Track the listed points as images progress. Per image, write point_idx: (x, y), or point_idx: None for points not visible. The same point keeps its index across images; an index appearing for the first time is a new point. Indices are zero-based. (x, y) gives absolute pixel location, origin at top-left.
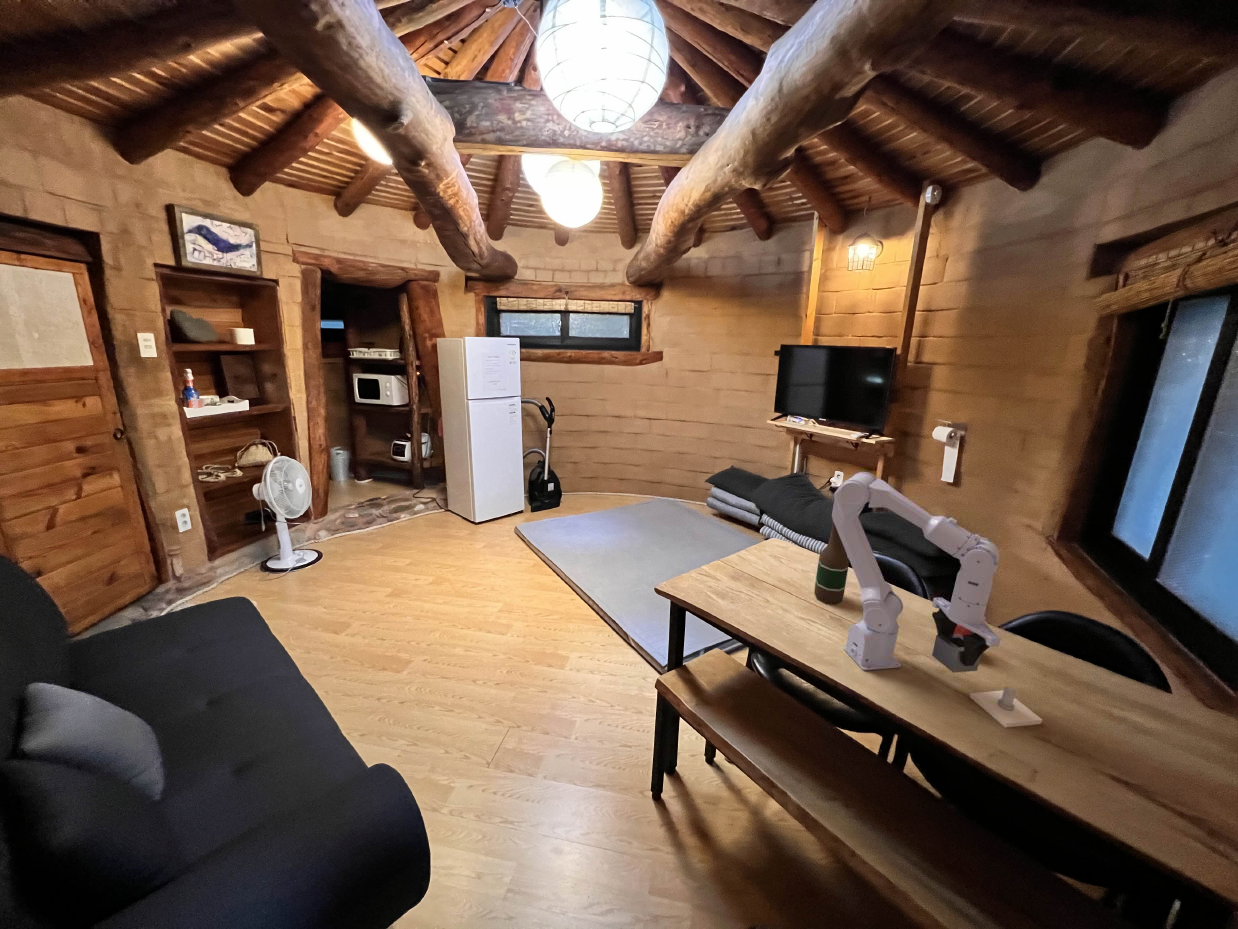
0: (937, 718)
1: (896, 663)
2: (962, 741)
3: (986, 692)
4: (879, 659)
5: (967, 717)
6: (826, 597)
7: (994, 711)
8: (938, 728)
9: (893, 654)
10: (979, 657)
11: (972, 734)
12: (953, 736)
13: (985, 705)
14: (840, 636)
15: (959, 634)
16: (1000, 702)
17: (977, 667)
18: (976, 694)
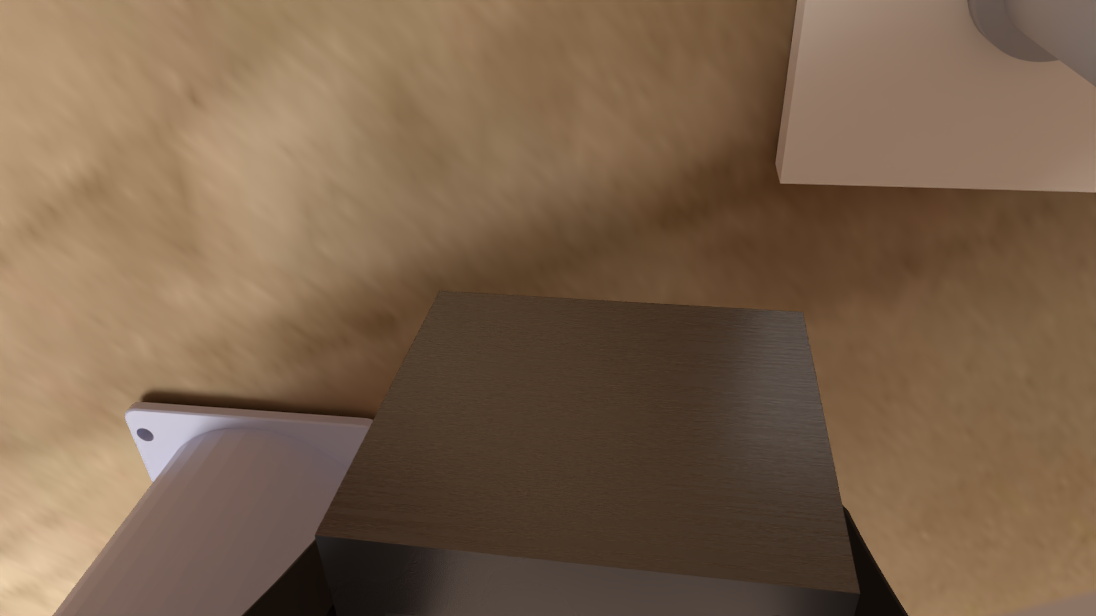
0: (879, 536)
1: (352, 445)
2: (1091, 545)
3: (814, 10)
4: None
5: (949, 365)
6: None
7: (1050, 175)
8: (947, 583)
9: (312, 515)
10: (828, 476)
11: (1084, 455)
12: (1035, 559)
13: (952, 186)
14: (75, 537)
15: (345, 560)
16: (1022, 41)
17: (806, 349)
18: (807, 146)
